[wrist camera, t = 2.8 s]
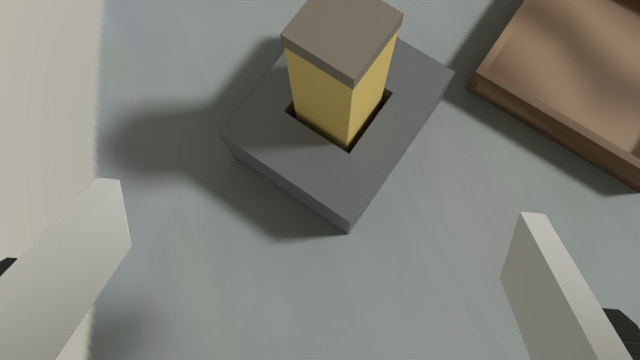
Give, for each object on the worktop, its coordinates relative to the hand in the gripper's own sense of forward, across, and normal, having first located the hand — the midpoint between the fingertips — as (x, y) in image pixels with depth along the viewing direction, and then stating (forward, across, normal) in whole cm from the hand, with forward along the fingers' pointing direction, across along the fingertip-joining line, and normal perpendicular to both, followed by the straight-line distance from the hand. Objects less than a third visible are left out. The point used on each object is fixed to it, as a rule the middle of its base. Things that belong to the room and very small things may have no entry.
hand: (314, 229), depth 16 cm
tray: (+24, +19, 0) cm, 30 cm away
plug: (+18, 0, -4) cm, 19 cm away
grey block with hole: (+19, 0, -4) cm, 20 cm away
